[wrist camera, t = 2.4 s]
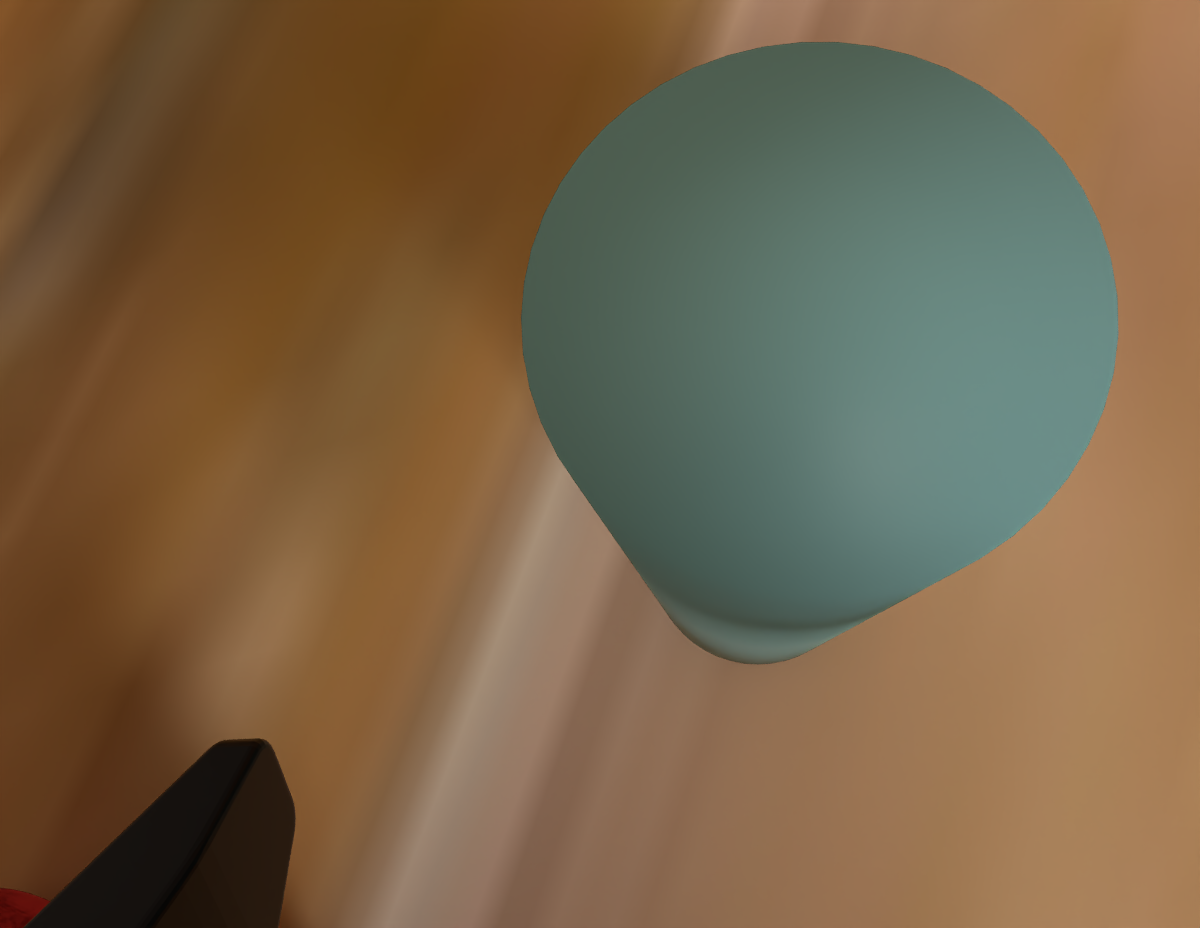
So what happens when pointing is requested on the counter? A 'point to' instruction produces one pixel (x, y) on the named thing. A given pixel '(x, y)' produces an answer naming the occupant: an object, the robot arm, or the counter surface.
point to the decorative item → (18, 907)
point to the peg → (816, 336)
